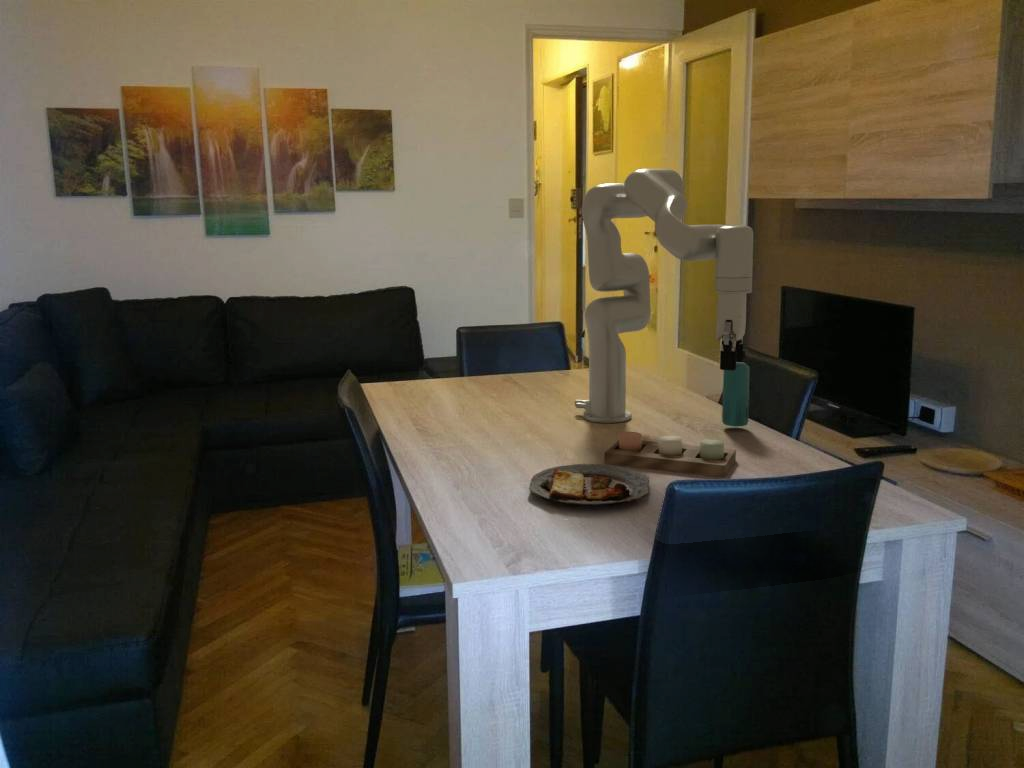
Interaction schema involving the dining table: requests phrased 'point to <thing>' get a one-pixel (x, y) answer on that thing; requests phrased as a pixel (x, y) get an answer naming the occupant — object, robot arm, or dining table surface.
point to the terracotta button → (630, 441)
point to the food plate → (570, 485)
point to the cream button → (670, 445)
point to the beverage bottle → (736, 395)
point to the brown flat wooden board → (670, 459)
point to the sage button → (712, 450)
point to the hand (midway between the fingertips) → (731, 365)
